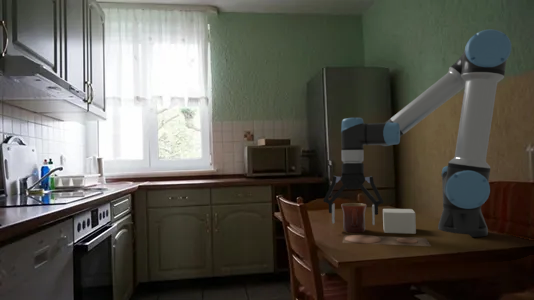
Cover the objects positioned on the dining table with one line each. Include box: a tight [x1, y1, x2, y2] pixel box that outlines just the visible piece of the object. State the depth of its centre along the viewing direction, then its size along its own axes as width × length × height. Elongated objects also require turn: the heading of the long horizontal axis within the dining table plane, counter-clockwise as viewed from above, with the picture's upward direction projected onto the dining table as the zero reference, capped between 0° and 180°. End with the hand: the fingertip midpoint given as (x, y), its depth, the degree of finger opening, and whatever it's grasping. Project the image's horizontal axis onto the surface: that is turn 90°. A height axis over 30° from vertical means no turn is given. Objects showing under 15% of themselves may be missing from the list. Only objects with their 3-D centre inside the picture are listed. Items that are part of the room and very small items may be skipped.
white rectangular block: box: [382, 208, 417, 235], centre depth 129 cm, size 10×9×8 cm
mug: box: [340, 202, 367, 234], centre depth 129 cm, size 12×9×10 cm
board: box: [342, 234, 432, 247], centre depth 114 cm, size 25×11×2 cm, turn 75°
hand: (353, 223), depth 129 cm, fingers open, 13 cm apart
